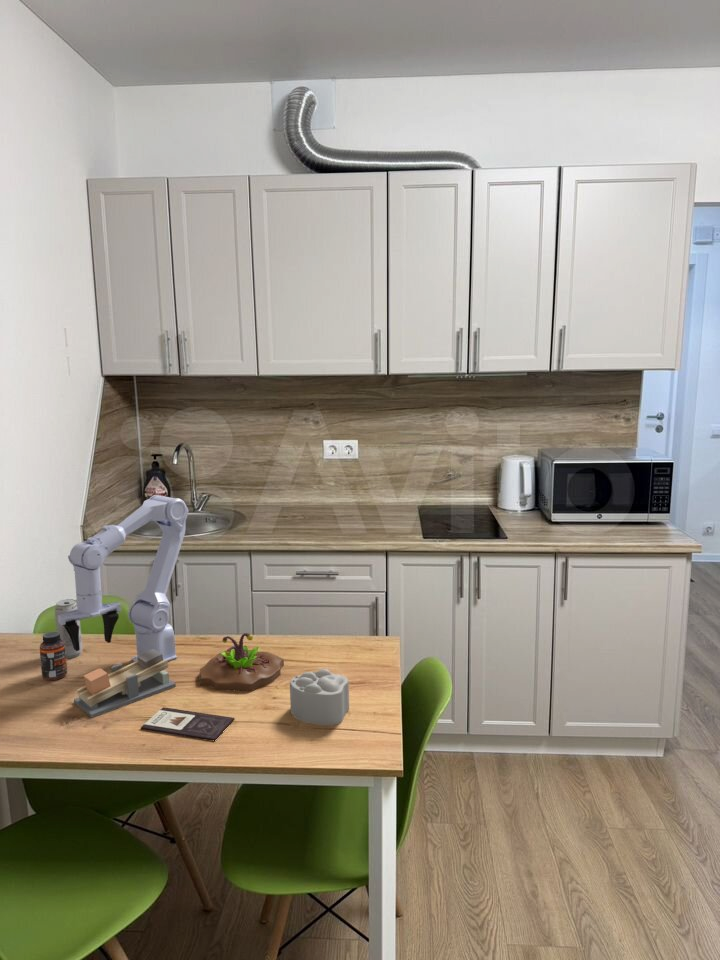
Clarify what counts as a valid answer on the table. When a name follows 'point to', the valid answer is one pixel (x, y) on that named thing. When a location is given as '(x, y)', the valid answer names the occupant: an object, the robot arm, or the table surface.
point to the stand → (129, 692)
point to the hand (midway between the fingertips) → (92, 645)
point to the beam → (142, 668)
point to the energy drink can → (60, 609)
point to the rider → (96, 681)
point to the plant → (241, 668)
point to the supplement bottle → (53, 656)
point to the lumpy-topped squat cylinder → (319, 697)
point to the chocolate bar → (188, 724)
